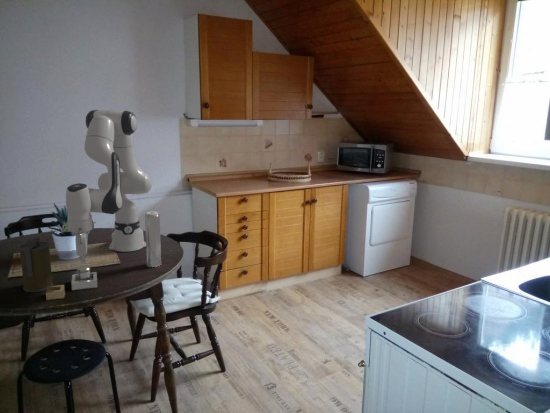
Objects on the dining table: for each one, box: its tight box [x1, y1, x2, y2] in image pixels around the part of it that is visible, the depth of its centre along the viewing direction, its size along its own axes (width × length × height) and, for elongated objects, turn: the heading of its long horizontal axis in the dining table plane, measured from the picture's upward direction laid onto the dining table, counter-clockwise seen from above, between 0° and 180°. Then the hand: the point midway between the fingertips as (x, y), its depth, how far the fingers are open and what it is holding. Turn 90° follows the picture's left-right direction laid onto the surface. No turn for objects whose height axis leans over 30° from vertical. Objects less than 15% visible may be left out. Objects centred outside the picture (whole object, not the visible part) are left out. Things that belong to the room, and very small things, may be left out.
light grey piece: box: [144, 210, 162, 268], centre depth 192 cm, size 6×6×25 cm
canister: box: [18, 236, 54, 293], centre depth 166 cm, size 11×10×20 cm
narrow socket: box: [45, 284, 66, 301], centre depth 161 cm, size 6×6×3 cm
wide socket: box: [71, 271, 98, 291], centre depth 172 cm, size 9×9×3 cm
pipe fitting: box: [76, 265, 91, 281], centre depth 172 cm, size 5×5×7 cm
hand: (83, 258), depth 170 cm, fingers open, 8 cm apart
